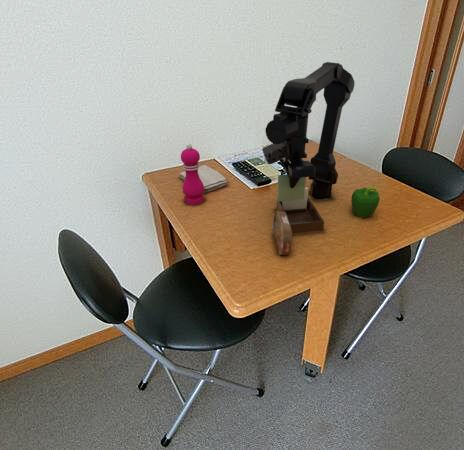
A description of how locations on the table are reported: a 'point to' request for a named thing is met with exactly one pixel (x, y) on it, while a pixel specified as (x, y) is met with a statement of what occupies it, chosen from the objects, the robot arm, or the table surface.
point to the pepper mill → (192, 176)
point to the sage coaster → (290, 189)
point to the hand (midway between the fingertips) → (291, 186)
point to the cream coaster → (296, 202)
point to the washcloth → (209, 178)
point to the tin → (282, 232)
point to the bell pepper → (365, 202)
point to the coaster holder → (303, 218)
